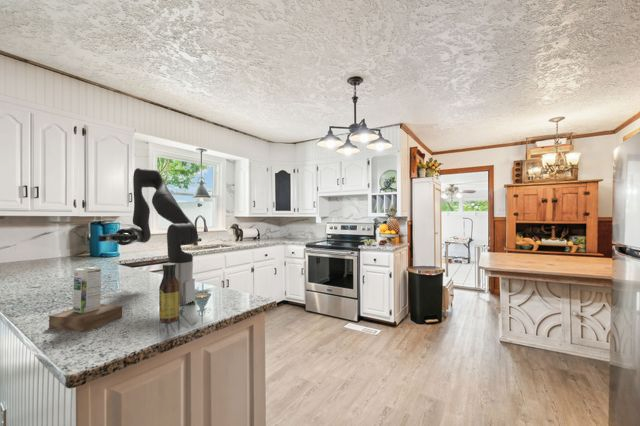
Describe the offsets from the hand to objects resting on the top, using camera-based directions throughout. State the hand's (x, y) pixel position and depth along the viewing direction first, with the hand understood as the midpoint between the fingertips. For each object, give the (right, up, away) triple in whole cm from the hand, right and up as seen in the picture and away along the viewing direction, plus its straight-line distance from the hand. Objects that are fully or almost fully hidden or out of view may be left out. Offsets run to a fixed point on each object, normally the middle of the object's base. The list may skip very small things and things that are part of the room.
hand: (112, 238), depth 123 cm
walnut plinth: (+6, -27, -21) cm, 35 cm away
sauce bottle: (+33, -27, -19) cm, 47 cm away
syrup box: (+6, -23, -21) cm, 32 cm away
